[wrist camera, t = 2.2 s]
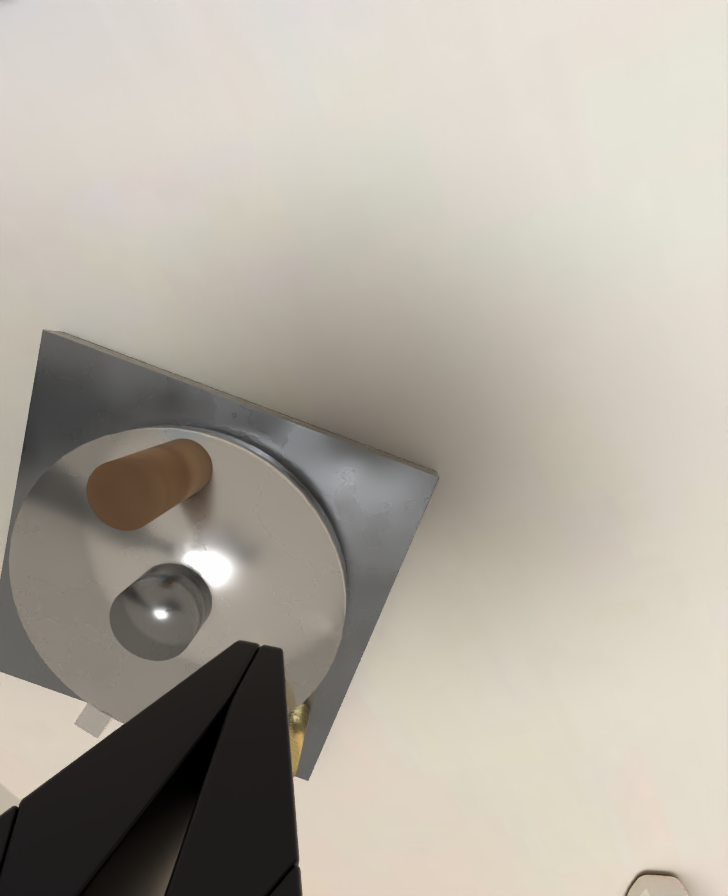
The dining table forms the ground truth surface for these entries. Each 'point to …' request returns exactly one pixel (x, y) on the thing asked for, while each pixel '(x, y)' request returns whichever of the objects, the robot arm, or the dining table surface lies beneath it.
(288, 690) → the metal crank wheel
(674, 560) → the dining table surface
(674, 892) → the eye dropper bottle
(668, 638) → the dining table surface
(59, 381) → the base
